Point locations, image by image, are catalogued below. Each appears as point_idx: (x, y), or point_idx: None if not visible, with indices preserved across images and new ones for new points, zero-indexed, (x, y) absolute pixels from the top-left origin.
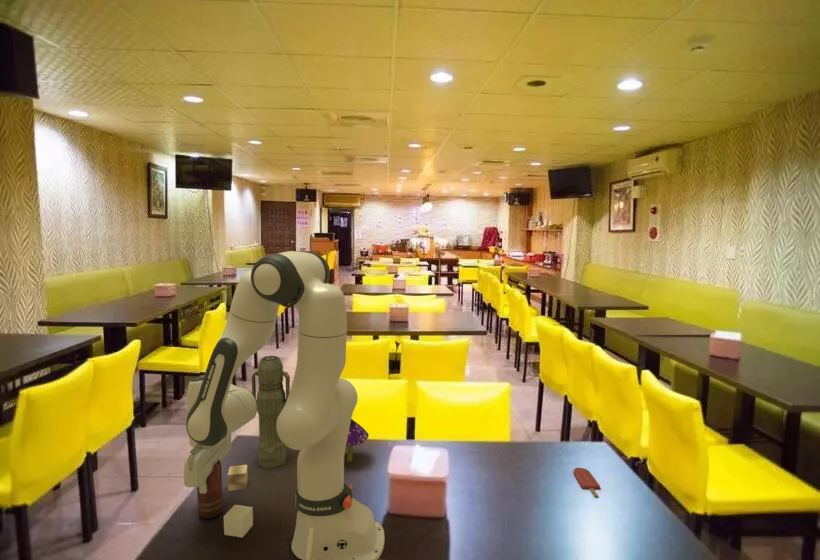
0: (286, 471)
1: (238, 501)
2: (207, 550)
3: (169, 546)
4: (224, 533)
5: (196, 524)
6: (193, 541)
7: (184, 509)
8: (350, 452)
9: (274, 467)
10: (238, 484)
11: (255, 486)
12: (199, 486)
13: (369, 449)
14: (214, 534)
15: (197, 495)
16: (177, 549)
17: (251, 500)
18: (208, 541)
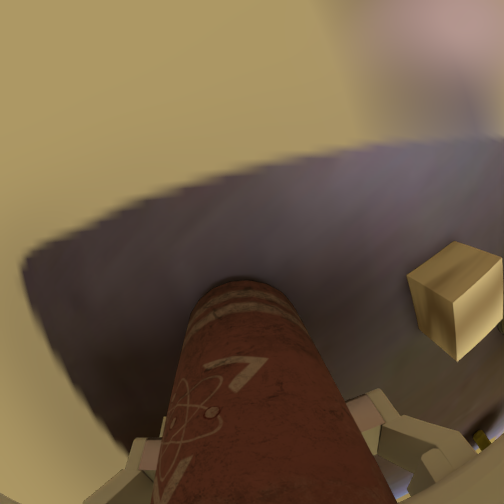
0: (480, 363)
1: (346, 358)
2: (94, 405)
3: (47, 294)
4: (163, 420)
5: (165, 308)
6: (95, 354)
7: (243, 174)
8: (481, 450)
9: (499, 325)
10: (427, 318)
11: (429, 345)
12: (119, 479)
13: (498, 424)
14: (150, 394)
15: (186, 356)
16: (51, 328)
17: (355, 389)
18: (118, 393)
